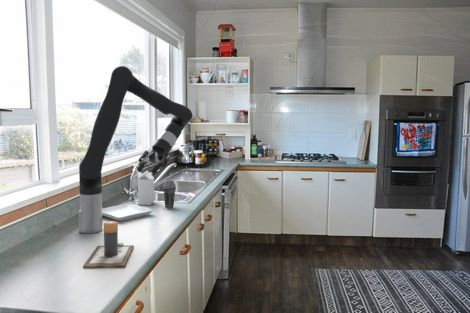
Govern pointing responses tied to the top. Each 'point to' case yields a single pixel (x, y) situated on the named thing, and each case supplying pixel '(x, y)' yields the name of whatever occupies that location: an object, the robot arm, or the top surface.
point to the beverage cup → (169, 193)
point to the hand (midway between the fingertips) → (145, 172)
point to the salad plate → (125, 212)
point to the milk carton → (145, 189)
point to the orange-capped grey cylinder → (110, 238)
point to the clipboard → (109, 258)
